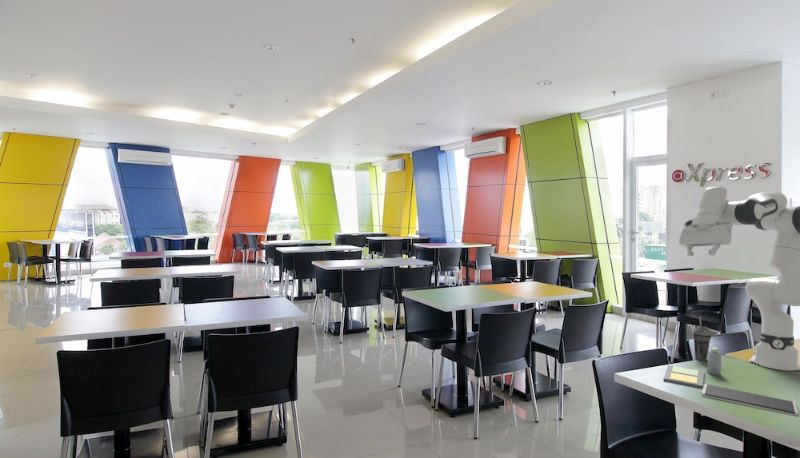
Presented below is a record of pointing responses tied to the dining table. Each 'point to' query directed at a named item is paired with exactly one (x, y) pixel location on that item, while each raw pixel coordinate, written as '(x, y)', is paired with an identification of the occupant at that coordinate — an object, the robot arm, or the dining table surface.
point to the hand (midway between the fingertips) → (700, 255)
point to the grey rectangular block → (714, 362)
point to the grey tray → (750, 399)
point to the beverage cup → (701, 341)
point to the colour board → (684, 376)
